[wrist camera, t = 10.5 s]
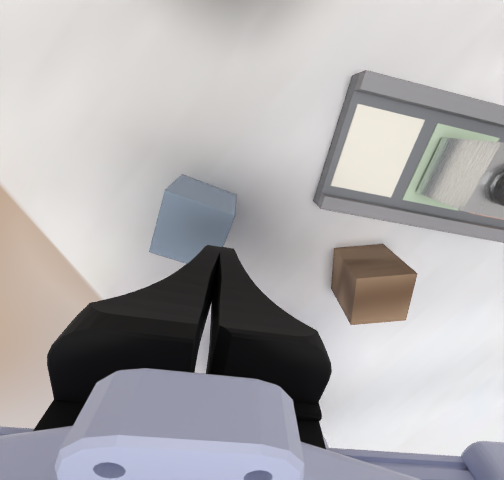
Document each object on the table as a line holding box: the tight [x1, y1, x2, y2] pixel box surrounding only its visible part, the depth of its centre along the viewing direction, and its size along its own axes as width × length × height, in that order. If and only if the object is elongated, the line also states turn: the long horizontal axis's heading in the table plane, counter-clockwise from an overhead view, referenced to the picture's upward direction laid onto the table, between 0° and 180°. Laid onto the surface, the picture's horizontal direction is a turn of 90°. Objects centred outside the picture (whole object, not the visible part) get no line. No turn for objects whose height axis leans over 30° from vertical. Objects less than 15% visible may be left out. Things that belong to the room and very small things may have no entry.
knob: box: [416, 137, 504, 219], centre depth 17 cm, size 4×4×5 cm
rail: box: [314, 70, 504, 243], centre depth 19 cm, size 9×18×2 cm, turn 79°
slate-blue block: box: [149, 175, 236, 264], centre depth 19 cm, size 4×4×5 cm
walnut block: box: [331, 244, 417, 325], centre depth 22 cm, size 4×4×5 cm
